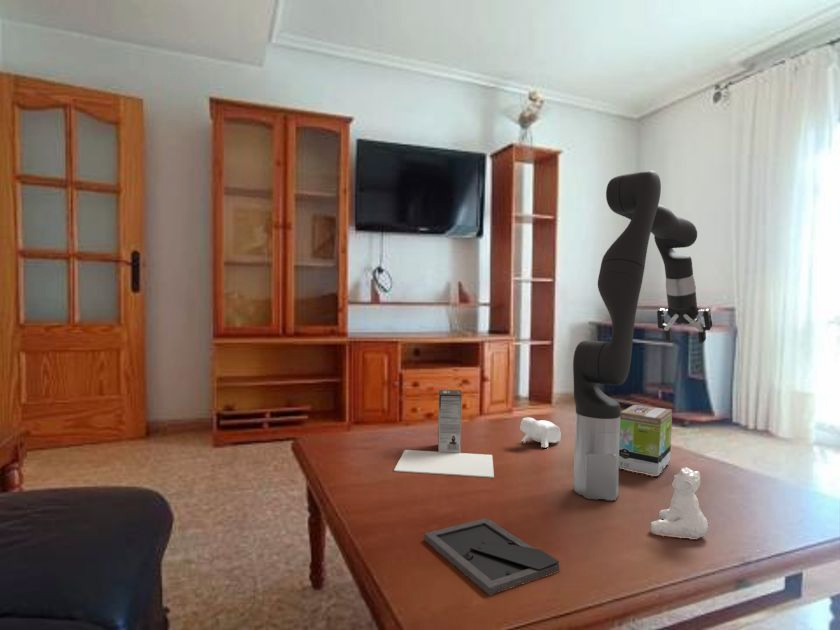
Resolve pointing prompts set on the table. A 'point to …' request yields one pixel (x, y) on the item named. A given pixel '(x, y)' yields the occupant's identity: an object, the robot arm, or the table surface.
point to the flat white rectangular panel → (446, 463)
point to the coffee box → (449, 421)
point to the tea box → (645, 439)
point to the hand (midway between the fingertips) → (685, 341)
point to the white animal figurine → (540, 431)
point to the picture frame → (491, 555)
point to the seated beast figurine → (683, 509)
